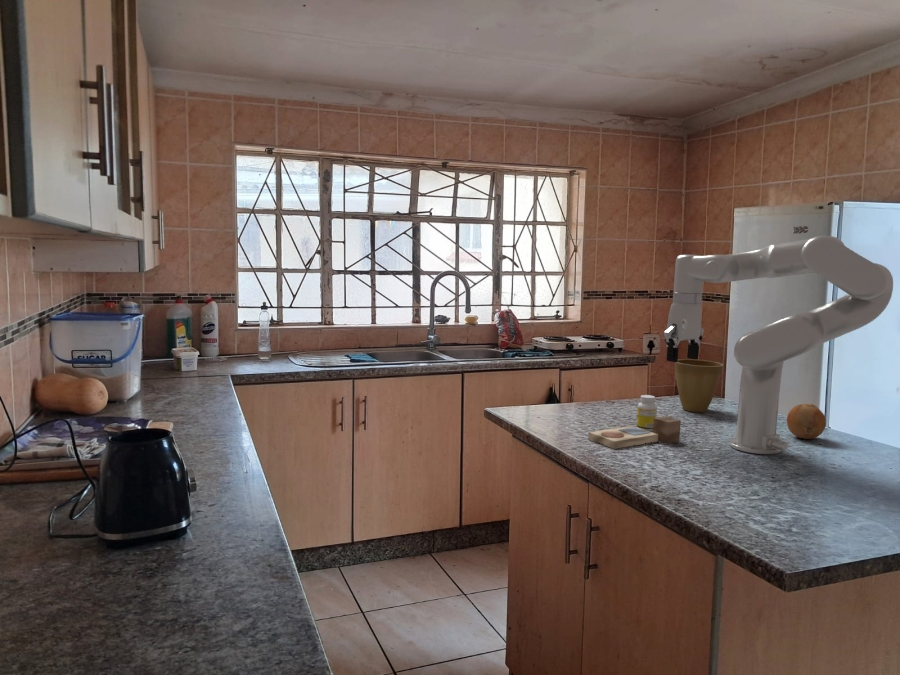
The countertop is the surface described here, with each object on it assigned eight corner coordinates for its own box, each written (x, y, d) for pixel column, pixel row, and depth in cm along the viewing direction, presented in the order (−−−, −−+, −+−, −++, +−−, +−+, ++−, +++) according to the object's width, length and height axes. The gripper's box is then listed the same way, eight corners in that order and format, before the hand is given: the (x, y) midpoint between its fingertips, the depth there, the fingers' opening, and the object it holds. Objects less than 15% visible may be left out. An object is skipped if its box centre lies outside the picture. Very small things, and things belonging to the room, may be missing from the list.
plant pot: (711, 417, 211) (715, 367, 209) (665, 410, 220) (668, 362, 218) (724, 409, 222) (728, 362, 220) (680, 402, 231) (683, 357, 229)
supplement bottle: (641, 425, 198) (643, 393, 197) (658, 429, 195) (660, 396, 194) (633, 429, 194) (635, 396, 193) (651, 432, 191) (653, 399, 190)
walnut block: (679, 441, 182) (680, 420, 182) (666, 443, 180) (667, 422, 179) (665, 437, 187) (666, 416, 186) (652, 439, 184) (653, 418, 183)
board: (657, 441, 182) (658, 433, 181) (614, 448, 174) (614, 440, 174) (631, 432, 190) (631, 425, 190) (588, 439, 182) (588, 431, 182)
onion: (814, 434, 193) (817, 400, 192) (830, 444, 183) (834, 408, 182) (779, 432, 194) (782, 399, 192) (793, 442, 184) (797, 407, 183)
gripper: (693, 297, 193) (688, 356, 195) (656, 299, 183) (652, 360, 185) (717, 299, 187) (711, 360, 190) (680, 301, 177) (675, 364, 179)
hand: (682, 360), depth 187 cm, fingers open, 9 cm apart
